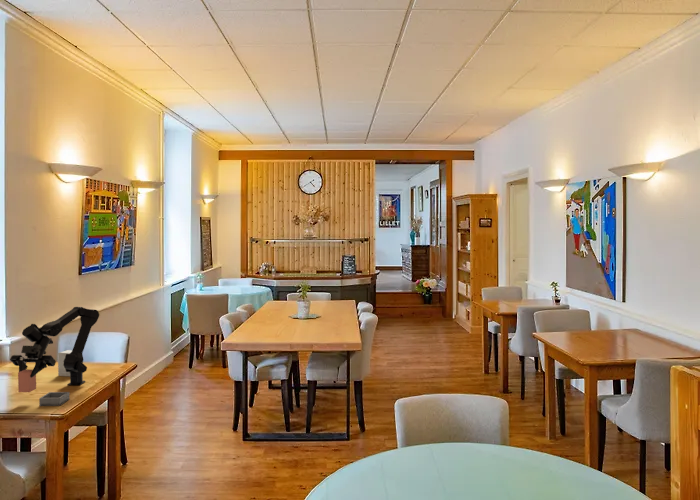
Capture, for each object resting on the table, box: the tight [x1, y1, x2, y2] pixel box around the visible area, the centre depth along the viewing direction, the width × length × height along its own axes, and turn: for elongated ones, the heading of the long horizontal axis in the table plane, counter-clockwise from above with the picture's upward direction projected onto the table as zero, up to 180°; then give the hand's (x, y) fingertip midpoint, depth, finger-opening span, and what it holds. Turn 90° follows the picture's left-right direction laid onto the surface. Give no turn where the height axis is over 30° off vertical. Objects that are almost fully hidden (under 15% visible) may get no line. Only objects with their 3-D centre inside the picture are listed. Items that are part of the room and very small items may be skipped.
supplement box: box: [57, 349, 73, 377], centre depth 289 cm, size 7×7×13 cm
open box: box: [38, 391, 70, 407], centre depth 242 cm, size 9×9×4 cm
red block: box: [17, 368, 37, 393], centre depth 241 cm, size 5×5×9 cm
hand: (25, 377), depth 240 cm, fingers closed on red block, 5 cm apart
